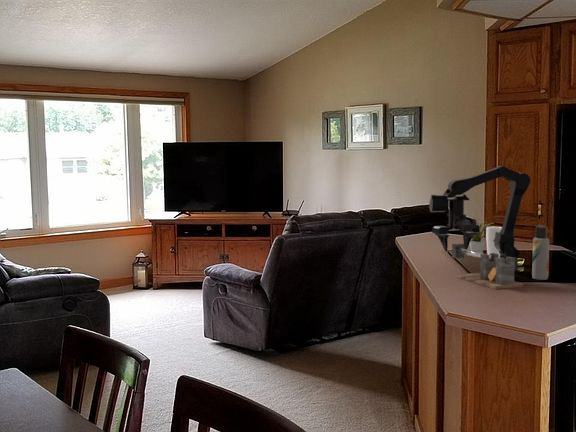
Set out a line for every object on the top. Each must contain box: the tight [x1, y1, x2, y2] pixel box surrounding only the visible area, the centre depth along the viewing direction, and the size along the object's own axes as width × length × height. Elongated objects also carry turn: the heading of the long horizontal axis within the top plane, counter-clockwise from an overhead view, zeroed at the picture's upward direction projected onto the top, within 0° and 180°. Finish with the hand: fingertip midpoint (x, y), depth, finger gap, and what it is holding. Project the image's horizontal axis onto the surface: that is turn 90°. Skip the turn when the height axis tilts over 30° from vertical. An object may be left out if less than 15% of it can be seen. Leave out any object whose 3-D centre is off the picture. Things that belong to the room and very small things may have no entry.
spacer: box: [488, 267, 496, 282], centre depth 235 cm, size 2×5×5 cm
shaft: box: [451, 242, 493, 260], centre depth 249 cm, size 22×4×6 cm, turn 19°
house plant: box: [469, 219, 493, 253], centre depth 302 cm, size 14×14×16 cm
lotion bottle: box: [531, 224, 550, 281], centre depth 244 cm, size 6×6×20 cm
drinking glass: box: [485, 225, 503, 258], centre depth 281 cm, size 7×7×15 cm
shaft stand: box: [456, 253, 524, 290], centre depth 240 cm, size 23×12×10 cm, turn 19°
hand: (455, 250), depth 259 cm, fingers open, 9 cm apart
